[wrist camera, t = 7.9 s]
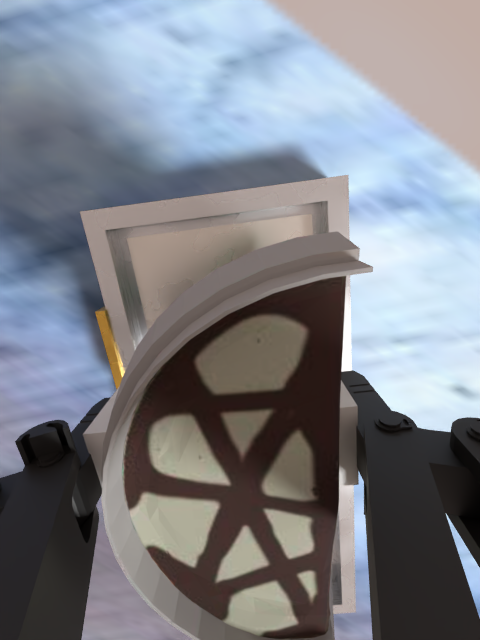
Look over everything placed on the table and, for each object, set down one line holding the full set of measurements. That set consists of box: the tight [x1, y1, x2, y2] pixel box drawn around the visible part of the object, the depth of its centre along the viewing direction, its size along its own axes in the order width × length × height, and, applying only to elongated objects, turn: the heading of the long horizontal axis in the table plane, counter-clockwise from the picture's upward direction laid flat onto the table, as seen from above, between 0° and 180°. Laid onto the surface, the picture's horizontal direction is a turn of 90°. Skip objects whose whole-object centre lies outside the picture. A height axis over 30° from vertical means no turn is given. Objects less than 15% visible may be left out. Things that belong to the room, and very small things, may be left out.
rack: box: [80, 175, 356, 614], centre depth 20 cm, size 14×31×3 cm, turn 7°
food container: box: [101, 231, 373, 640], centre depth 12 cm, size 12×6×10 cm, turn 3°
